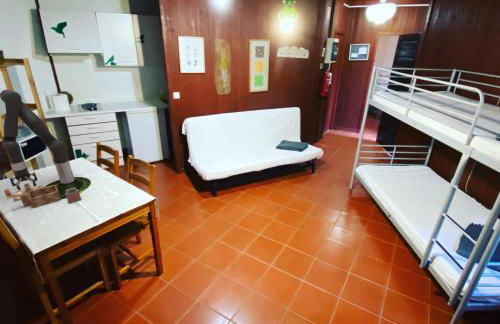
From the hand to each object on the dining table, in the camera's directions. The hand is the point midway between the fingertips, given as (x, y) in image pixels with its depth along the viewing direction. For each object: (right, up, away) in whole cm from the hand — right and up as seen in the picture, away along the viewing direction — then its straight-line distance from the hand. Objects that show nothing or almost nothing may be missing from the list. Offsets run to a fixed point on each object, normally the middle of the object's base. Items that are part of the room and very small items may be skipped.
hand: (27, 188), depth 185 cm
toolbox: (+16, -9, -6) cm, 19 cm away
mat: (0, -4, +2) cm, 5 cm away
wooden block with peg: (+7, -4, -17) cm, 19 cm away
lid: (0, -4, +2) cm, 4 cm away
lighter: (+37, -9, -4) cm, 38 cm away
